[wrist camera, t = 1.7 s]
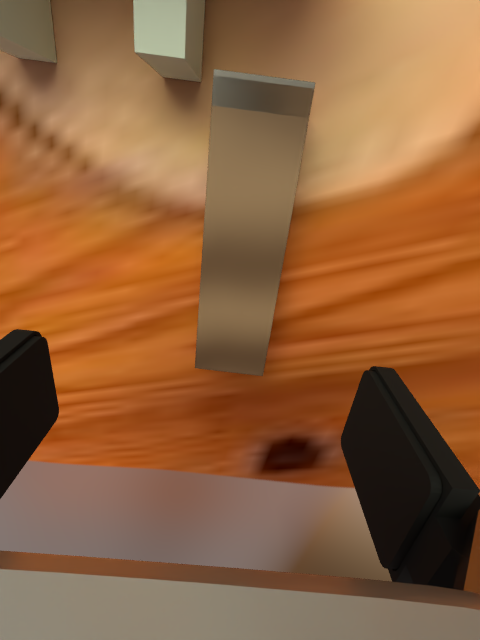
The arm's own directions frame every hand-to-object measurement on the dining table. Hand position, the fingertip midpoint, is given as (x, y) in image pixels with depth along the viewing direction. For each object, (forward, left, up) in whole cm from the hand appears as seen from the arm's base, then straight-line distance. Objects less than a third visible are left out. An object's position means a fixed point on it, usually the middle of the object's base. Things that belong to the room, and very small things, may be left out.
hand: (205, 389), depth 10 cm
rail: (-1, -2, -13) cm, 13 cm away
